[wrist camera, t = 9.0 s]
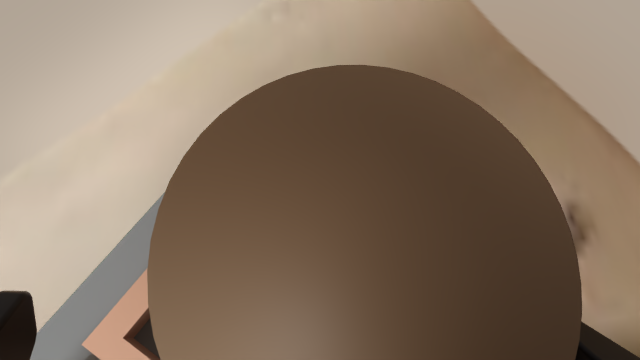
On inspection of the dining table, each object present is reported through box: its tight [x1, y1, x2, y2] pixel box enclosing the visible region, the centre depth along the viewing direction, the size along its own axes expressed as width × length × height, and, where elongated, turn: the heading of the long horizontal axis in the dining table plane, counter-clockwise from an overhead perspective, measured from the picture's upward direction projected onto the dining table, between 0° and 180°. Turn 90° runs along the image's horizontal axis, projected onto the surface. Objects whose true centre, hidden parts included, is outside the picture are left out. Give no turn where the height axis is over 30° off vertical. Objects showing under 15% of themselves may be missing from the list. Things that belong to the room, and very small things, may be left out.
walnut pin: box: [147, 65, 582, 360], centre depth 11 cm, size 4×4×14 cm
